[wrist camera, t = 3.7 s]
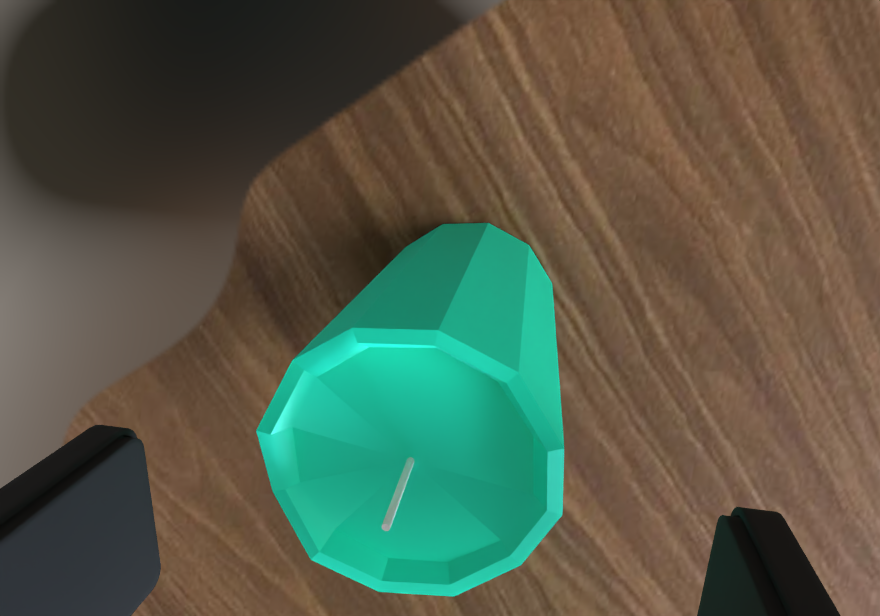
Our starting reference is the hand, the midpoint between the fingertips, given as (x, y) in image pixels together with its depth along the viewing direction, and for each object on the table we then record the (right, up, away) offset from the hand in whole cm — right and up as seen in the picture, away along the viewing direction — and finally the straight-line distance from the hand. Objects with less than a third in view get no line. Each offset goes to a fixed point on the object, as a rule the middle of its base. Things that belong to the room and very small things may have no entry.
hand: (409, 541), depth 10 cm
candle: (+2, +4, +12) cm, 12 cm away
